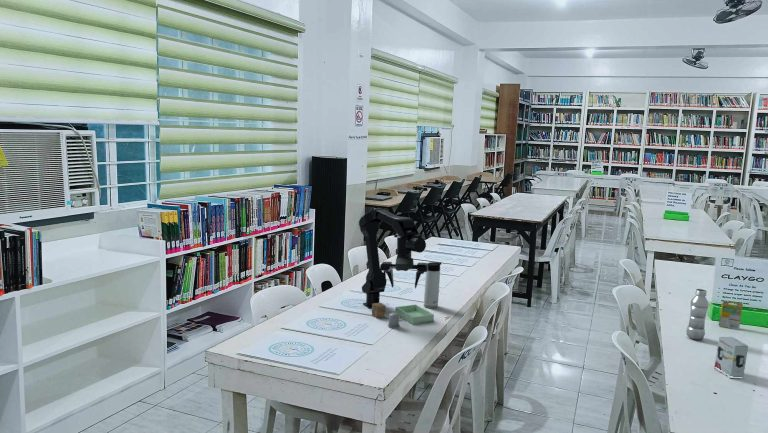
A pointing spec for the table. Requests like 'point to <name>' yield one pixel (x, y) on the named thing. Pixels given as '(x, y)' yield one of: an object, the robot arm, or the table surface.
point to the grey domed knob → (393, 320)
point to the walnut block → (378, 310)
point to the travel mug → (432, 285)
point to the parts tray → (414, 314)
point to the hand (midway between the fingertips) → (404, 287)
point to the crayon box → (730, 315)
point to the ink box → (731, 356)
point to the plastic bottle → (698, 315)
